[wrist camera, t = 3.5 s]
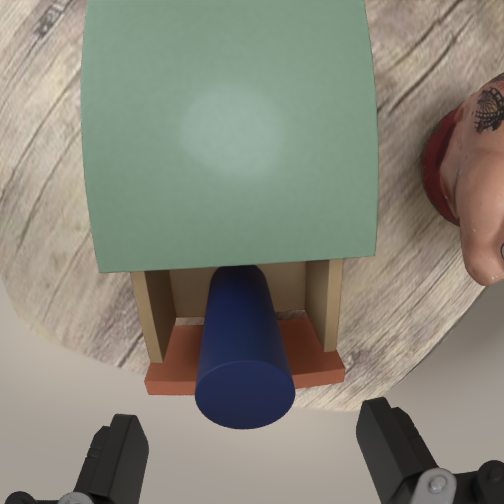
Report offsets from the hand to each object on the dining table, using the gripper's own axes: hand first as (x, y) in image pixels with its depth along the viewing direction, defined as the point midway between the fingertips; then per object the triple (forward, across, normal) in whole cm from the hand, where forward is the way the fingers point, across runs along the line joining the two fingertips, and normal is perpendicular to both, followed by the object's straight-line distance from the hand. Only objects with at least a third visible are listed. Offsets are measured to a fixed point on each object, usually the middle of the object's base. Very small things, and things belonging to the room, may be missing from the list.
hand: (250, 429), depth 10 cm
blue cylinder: (+13, 0, 0) cm, 13 cm away
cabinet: (+15, 0, -11) cm, 19 cm away
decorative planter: (+15, -20, -10) cm, 27 cm away
